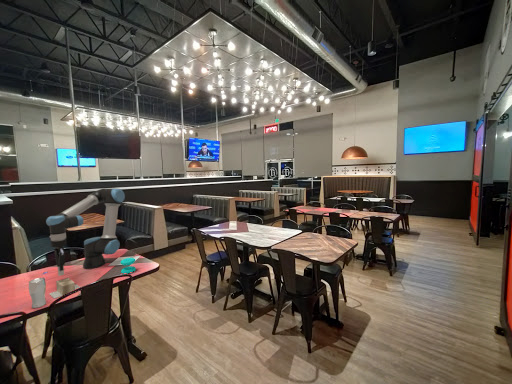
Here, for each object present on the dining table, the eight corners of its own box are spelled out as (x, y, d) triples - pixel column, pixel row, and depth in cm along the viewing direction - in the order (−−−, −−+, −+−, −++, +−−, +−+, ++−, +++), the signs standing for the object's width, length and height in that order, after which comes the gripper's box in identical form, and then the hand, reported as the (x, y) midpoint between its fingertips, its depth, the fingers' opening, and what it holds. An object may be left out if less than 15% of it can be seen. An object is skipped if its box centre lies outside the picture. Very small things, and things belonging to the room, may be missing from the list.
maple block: (67, 277, 148) (74, 282, 142) (68, 286, 149) (75, 291, 142) (56, 281, 143) (62, 286, 137) (56, 290, 144) (63, 295, 137)
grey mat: (76, 284, 152) (76, 284, 152) (82, 288, 146) (82, 288, 146) (49, 294, 140) (49, 293, 140) (54, 298, 135) (54, 298, 135)
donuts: (133, 261, 167) (118, 262, 164) (134, 273, 168) (119, 275, 165) (136, 256, 177) (122, 258, 174) (137, 268, 177) (122, 270, 174)
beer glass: (27, 307, 126) (25, 281, 125) (43, 300, 132) (40, 276, 131) (34, 310, 123) (32, 283, 122) (50, 303, 130) (48, 278, 129)
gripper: (47, 239, 145) (50, 274, 146) (54, 242, 137) (56, 279, 139) (62, 236, 151) (65, 270, 152) (69, 239, 143) (71, 275, 145)
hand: (61, 274), depth 146 cm, fingers closed
